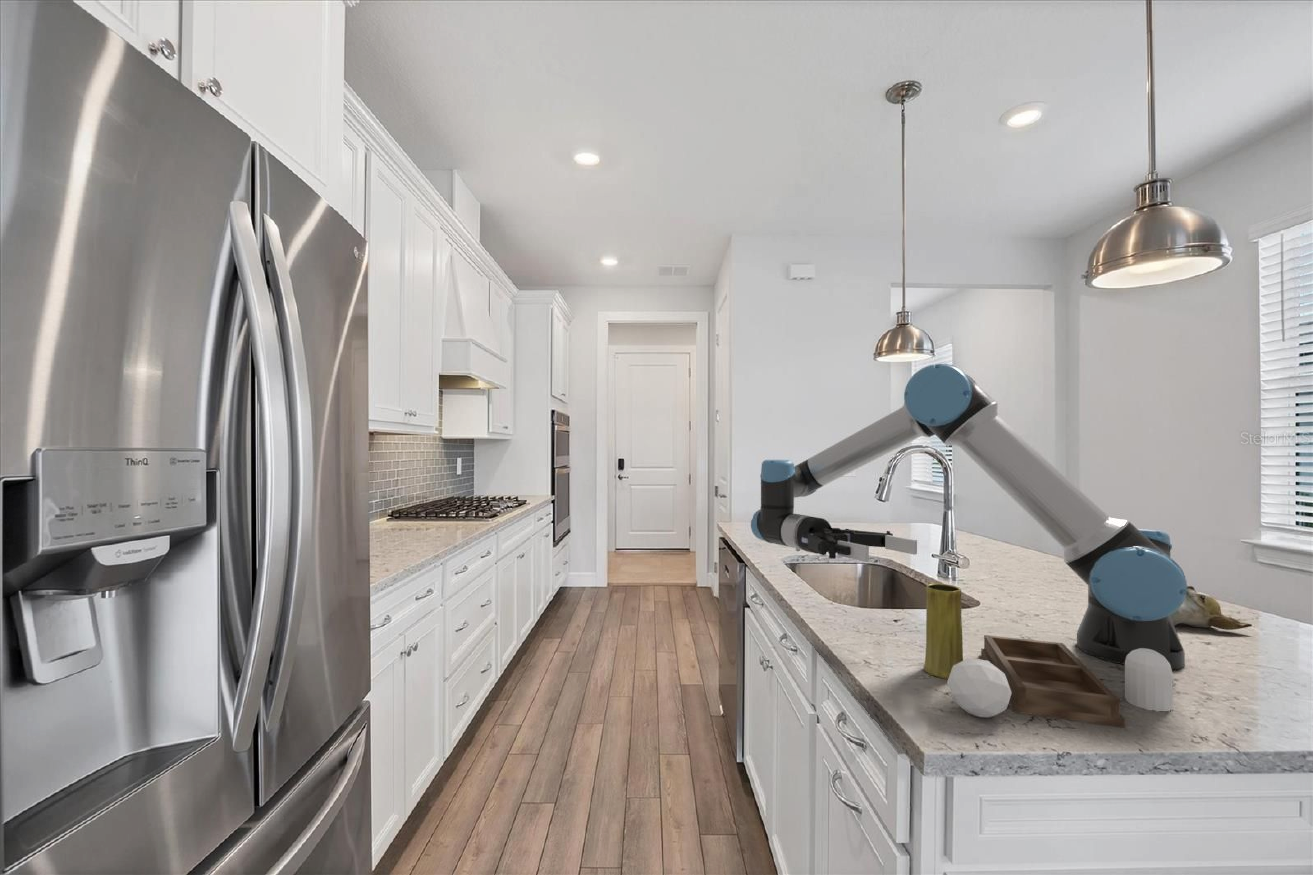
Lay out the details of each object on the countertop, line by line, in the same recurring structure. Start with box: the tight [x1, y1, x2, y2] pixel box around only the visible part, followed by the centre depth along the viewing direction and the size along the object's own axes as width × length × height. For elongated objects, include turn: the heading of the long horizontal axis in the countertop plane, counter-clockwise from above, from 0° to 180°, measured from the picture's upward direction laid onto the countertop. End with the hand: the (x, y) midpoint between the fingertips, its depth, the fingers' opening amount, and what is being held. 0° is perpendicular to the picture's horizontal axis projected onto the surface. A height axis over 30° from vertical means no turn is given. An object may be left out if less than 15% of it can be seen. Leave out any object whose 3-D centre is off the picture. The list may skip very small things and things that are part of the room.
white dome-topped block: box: [1124, 648, 1174, 712], centre depth 83 cm, size 5×5×8 cm
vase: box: [923, 583, 964, 680], centre depth 94 cm, size 6×6×14 cm
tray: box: [980, 634, 1126, 728], centre depth 89 cm, size 13×23×4 cm, turn 160°
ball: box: [946, 657, 1012, 719], centre depth 80 cm, size 8×8×8 cm
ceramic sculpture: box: [1171, 585, 1253, 631], centre depth 119 cm, size 11×9×15 cm
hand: (892, 550), depth 103 cm, fingers open, 13 cm apart
